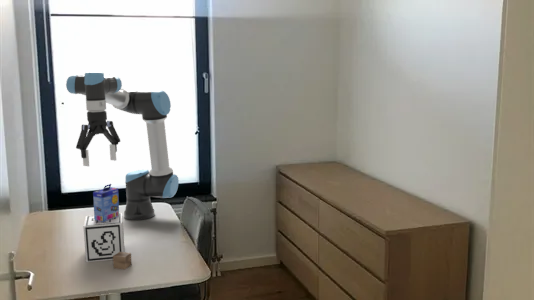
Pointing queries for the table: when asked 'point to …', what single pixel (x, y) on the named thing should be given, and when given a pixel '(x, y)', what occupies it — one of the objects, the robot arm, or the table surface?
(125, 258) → the walnut cube
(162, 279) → the table surface
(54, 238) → the table surface
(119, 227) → the block
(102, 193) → the ink cartridge box
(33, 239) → the table surface
